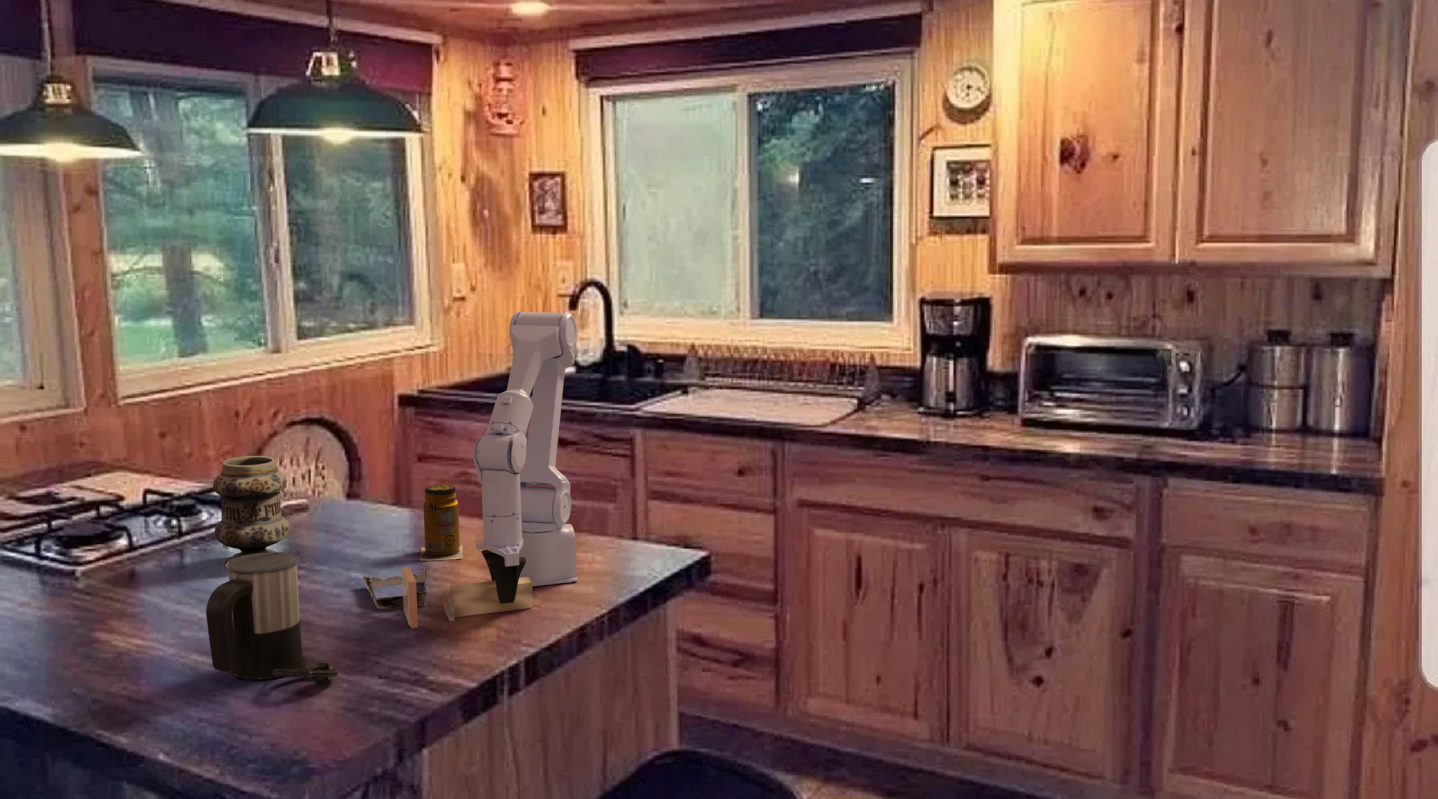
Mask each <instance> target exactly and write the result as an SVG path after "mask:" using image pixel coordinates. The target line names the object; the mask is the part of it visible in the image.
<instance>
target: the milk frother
mask: <svg viewBox="0 0 1438 799" xmlns="http://www.w3.org/2000/svg"><path fill="white" fill-rule="evenodd" d="M299 560H300V557H299V556H298V555H296V554H294V553H290V552H282V551H281V552H280V551H275V552H264V553H255V554H250V555H244V556H241V557H237V558H234V559H232V560H230V561H228V562H227V563H226V565H224V567H225V568H226V569H227V570H228V581H225V582H224V583H222V584H220V585H219V586H217V587H216V588H215V589H214V590H213V591H212V592H211V594H210V596H209V598H208V600H207V604H206V610H205V615H206V623H207V632H208V641H209V648H210V655H211V662H212V667H213V668H214V670H216V671H220V672H227V673H228V672H229V673H230V672H231V673H232V675H233V676H235V677H237V678H240V679H245V680H252V681H253V680H257V681H258V680H266V679H267V680H269V679H276V678H280V677H287V678H289V677H291V678H293V677H295V678H301V677H303V679H306V680H307V679H308V680H310V681H312V682H315V683H316V684H326V683H328V682H329V680H330V678H333V677H338V675H339V671H338V669H333V666H330V663H328V662H317V663H316V664H315V665H312V666H310V667H308V668H303V667H304V666H305V664H306V661H305V660H306V659H305V657H304V655H303V646H302V635H301V620H300V597H299V582H298V579H299V578H298V562H299Z"/></svg>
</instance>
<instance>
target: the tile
mask: <svg viewBox="0 0 1438 799" xmlns="http://www.w3.org/2000/svg"><path fill="white" fill-rule="evenodd" d="M413 573H414V572H413V571H412V569H411V566H403V567H402V569H401V577H402V584H401V585H402V596H403V605H404V607H403V613H404V615H405V617H406V618H405V619H406V620H407V624H408V627H410V629H418V628H419V620H418V619H419V617H418V606H417V595H416V592H417V583H416V581H415V578H414V576H413Z"/></svg>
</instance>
